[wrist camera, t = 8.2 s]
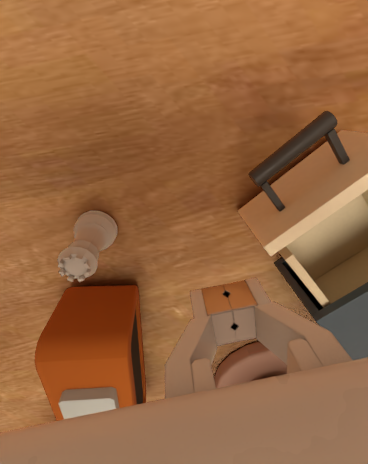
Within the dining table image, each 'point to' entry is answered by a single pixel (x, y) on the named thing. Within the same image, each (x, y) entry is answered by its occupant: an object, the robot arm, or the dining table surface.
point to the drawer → (316, 209)
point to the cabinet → (336, 313)
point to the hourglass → (249, 366)
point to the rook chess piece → (87, 245)
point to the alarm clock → (93, 351)
